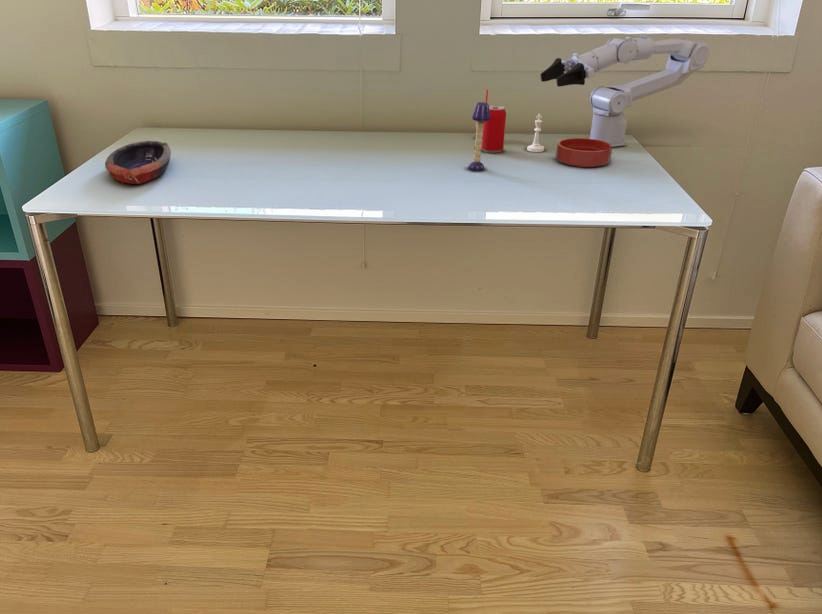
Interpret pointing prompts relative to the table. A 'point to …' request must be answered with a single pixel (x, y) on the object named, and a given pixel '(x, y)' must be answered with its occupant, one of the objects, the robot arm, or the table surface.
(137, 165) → the dish
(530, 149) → the chess piece
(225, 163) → the table surface
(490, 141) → the beverage can
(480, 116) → the toy lamp
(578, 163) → the bowl
